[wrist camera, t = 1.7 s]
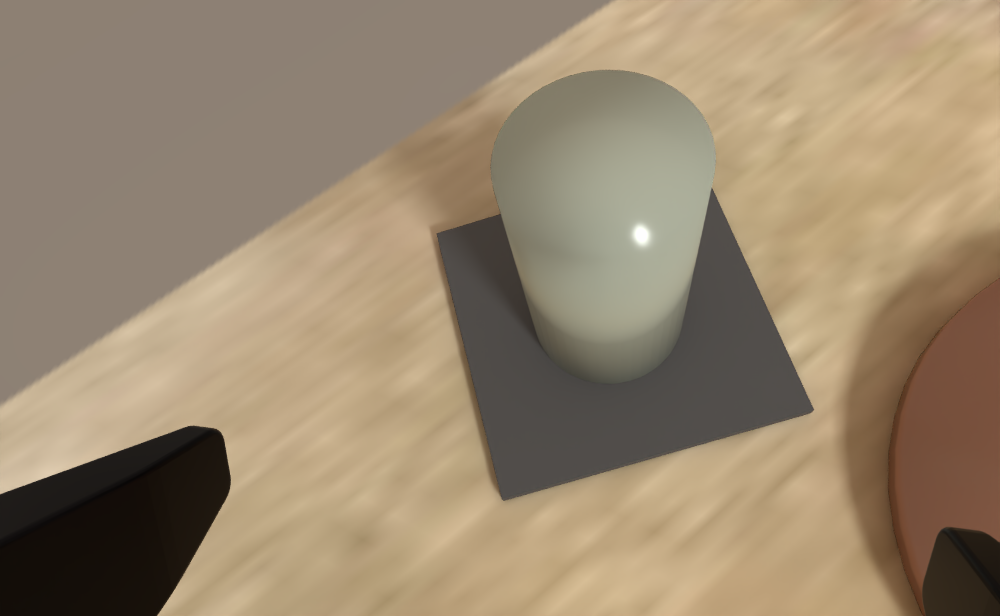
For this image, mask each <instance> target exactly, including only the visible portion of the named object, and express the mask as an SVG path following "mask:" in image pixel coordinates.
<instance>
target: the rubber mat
mask: <svg viewBox="0 0 1000 616" xmlns="http://www.w3.org/2000/svg"><path fill="white" fill-rule="evenodd" d="M437 238H438V242H439V246H440V250H441V254H442V258H443V262H444V266H445V270H446V274H447V278H448V282H449V286H450V290H451V294H452V298H453V302H454V307H455V311H456V315H457V319H458V323H459V327H460V331H461V335H462V339H463V343H464V347H465V351H466V355H467V359H468V363H469V367H470V371H471V376H472V380H473V384H474V388H475V392H476V396H477V400H478V404H479V408H480V412H481V416H482V420H483V424H484V428H485V432H486V436H487V440H488V445H489V449H490V453H491V457H492V461H493V465H494V469H495V473H496V477H497V481H498V485H499V489H500V493H501V497H502V500H503V501H505V500H508V499H512V498H515V497H519V496H522V495H526V494H529V493H533V492H536V491H540V490H543V489H547V488H550V487H554V486H557V485H561V484H564V483H568V482H571V481H575V480H578V479H582V478H585V477H589V476H592V475H596V474H599V473H603V472H606V471H610V470H613V469H617V468H620V467H624V466H627V465H631V464H634V463H638V462H641V461H645V460H648V459H652V458H655V457H659V456H662V455H666V454H669V453H673V452H676V451H680V450H683V449H687V448H690V447H694V446H697V445H701V444H704V443H708V442H711V441H715V440H718V439H722V438H725V437H729V436H732V435H736V434H739V433H743V432H746V431H750V430H753V429H757V428H760V427H764V426H767V425H771V424H774V423H778V422H781V421H785V420H788V419H792V418H795V417H799V416H802V415H806V414H809V413H811V412H812V411H813V410H814V409H813V407H812V405H811V402H810V400H809V398H808V396H807V394H806V392H805V389H804V387H803V385H802V383H801V381H800V378H799V376H798V374H797V372H796V370H795V368H794V365H793V363H792V361H791V359H790V357H789V355H788V352H787V350H786V348H785V346H784V344H783V341H782V339H781V337H780V335H779V333H778V331H777V328H776V326H775V324H774V322H773V320H772V317H771V315H770V313H769V311H768V309H767V307H766V304H765V302H764V300H763V298H762V296H761V294H760V291H759V289H758V287H757V285H756V283H755V280H754V278H753V276H752V274H751V272H750V270H749V267H748V265H747V263H746V261H745V259H744V256H743V254H742V252H741V250H740V248H739V246H738V243H737V241H736V239H735V237H734V235H733V233H732V230H731V228H730V226H729V224H728V222H727V219H726V217H725V215H724V213H723V211H722V209H721V206H720V204H719V202H718V200H717V198H716V195H715V193H714V191H713V189H712V188H711V192H710V197H709V202H708V206H707V211H706V216H705V221H704V225H703V230H702V235H701V239H700V244H699V249H698V254H697V258H696V263H695V268H694V272H693V277H692V282H691V286H690V291H689V296H688V301H687V305H686V310H685V315H684V319H683V324H682V329H681V332H680V336H679V338H678V341H677V343H676V345H675V347H674V348H673V350H672V352H671V353H670V354H669V356H668V357H667V358H666V359H665V360H664V361H663V362H662V363H661V364H660V365H659V366H658V367H657V368H655V369H654V370H652V371H651V372H649V373H648V374H646V375H644V376H642V377H640V378H637V379H634V380H631V381H627V382H623V383H615V384H600V383H593V382H589V381H585V380H582V379H579V378H577V377H574V376H572V375H570V374H569V373H567V372H565V371H564V370H562V369H561V368H560V367H559V366H557V365H556V364H555V363H554V362H553V361H552V360H551V359H550V358H549V357H548V355H547V354H546V352H545V351H544V350H543V348H542V346H541V344H540V342H539V339H538V337H537V334H536V331H535V327H534V324H533V321H532V317H531V314H530V311H529V307H528V304H527V301H526V297H525V294H524V290H523V287H522V284H521V280H520V277H519V274H518V270H517V267H516V263H515V260H514V257H513V253H512V250H511V247H510V243H509V240H508V237H507V233H506V230H505V226H504V223H503V220H502V216H501V214H500V215H496V216H493V217H490V218H486V219H483V220H480V221H476V222H473V223H470V224H466V225H463V226H460V227H457V228H453V229H450V230H447V231H443V232H440V233H437Z"/></svg>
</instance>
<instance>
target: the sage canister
mask: <svg viewBox="0 0 1000 616" xmlns="http://www.w3.org/2000/svg"><path fill="white" fill-rule="evenodd" d="M715 165H716V153H715V145H714V140H713V136H712V133H711V131H710V128H709V126H708V124H707V122H706V120H705V119H704V117H703V115H702V114H701V112H700V111H699V110H698V109H697V107H696V106H695V105H694V104H693V103H692V102H691V101H690V100H689V99H688V98H687V97H686V96H685V95H683V94H682V93H681V92H679V91H678V90H677V89H675V88H674V87H672V86H670V85H668V84H666V83H665V82H663V81H660V80H658V79H655V78H653V77H650V76H647V75H643V74H639V73H635V72H629V71H621V70H596V71H589V72H582V73H578V74H574V75H570V76H567V77H565V78H562V79H559V80H556V81H554V82H552V83H550V84H548V85H546V86H544V87H542V88H541V89H539V90H538V91H536V92H534V93H533V94H532V95H530V96H529V97H528V98H527V99H525V100H524V101H523V102H522V103H521V104H520V105H519V106H518V107H517V108H516V109H515V110H514V111H513V112H512V113H511V115H510V116H509V117H508V118H507V120H506V121H505V123H504V125H503V126H502V128H501V130H500V131H499V134H498V136H497V139H496V141H495V144H494V148H493V152H492V157H491V180H492V184H493V189H494V193H495V196H496V200H497V203H498V206H499V210H500V213H501V216H502V220H503V223H504V226H505V230H506V233H507V237H508V240H509V243H510V247H511V250H512V253H513V257H514V260H515V263H516V267H517V270H518V274H519V277H520V280H521V284H522V287H523V290H524V294H525V297H526V301H527V304H528V307H529V311H530V314H531V317H532V321H533V324H534V327H535V331H536V334H537V337H538V339H539V342H540V344H541V346H542V348H543V350H544V351H545V352H546V354H547V355H548V357H549V358H550V359H551V360H552V361H553V362H554V363H555V364H556V365H557V366H559V367H560V368H561V369H562V370H564V371H565V372H567V373H569V374H570V375H572V376H574V377H577V378H579V379H582V380H585V381H589V382H593V383H600V384H615V383H623V382H627V381H631V380H634V379H637V378H640V377H642V376H644V375H646V374H648V373H649V372H651V371H652V370H654V369H655V368H657V367H658V366H659V365H660V364H661V363H662V362H663V361H664V360H665V359H666V358H667V357H668V356H669V354H670V353H671V352H672V350H673V348H674V347H675V345H676V343H677V341H678V338H679V336H680V332H681V329H682V324H683V319H684V315H685V310H686V305H687V301H688V296H689V291H690V286H691V282H692V277H693V272H694V268H695V263H696V258H697V254H698V249H699V244H700V239H701V235H702V230H703V225H704V221H705V216H706V211H707V206H708V202H709V197H710V192H711V188H712V183H713V178H714V173H715Z"/></svg>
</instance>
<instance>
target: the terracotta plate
mask: <svg viewBox="0 0 1000 616" xmlns="http://www.w3.org/2000/svg"><path fill="white" fill-rule="evenodd" d="M888 491H889V498H890V506H891V514H892V521H893V529H894V533H895V536H896V540H897V544H898V548H899V551H900V555H901V559H902V563H903V566H904V570H905V572H906V575H907V577H908V580H909V582H910V585H911V587H912V590H913V592H914V595H915V597H916V600H917V602H918V605H919V607H920V610H921V612H922V614H923V616H925V612H924V607H923V602H922V585H923V580H924V577H925V574H926V570H927V567H928V563H929V560H930V557H931V553H932V550H933V547H934V543H935V540H936V537H937V535H938V533H939V532H940V530H941V529H943V528H945V527H956V528H963V529H971V530H979V531H983V532H985V533H987V534H989V535H990V536H992V537H993V538H994V539H996V540H997V541H999V542H1000V278H999V279H998V280H996V281H995V282H993V283H992V284H991V285H989V286H988V287H986V288H985V289H984V290H982V291H981V292H980V293H978V294H977V295H976V296H975V297H974V298H973V299H971V300H970V301H969V302H968V303H967V304H966V305H965V306H964V307H963V308H962V309H960V310H959V311H958V312H957V313H956V314H955V315H954V316H953V317H952V318H951V319H950V320H949V321H948V322H947V323H946V324H945V325H944V326H943V327H942V328H941V329H940V330H939V331H938V332H937V334H936V335H935V336H934V338H933V339H932V340H931V342H930V343H929V345H928V346H927V347H926V349H925V350H924V351H923V353H922V354H921V355H920V357H919V358H918V360H917V362H916V364H915V366H914V368H913V370H912V372H911V374H910V376H909V378H908V380H907V382H906V384H905V386H904V389H903V392H902V395H901V398H900V401H899V404H898V407H897V410H896V414H895V417H894V422H893V428H892V434H891V441H890V447H889V468H888Z"/></svg>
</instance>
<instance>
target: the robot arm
mask: <svg viewBox="0 0 1000 616" xmlns="http://www.w3.org/2000/svg"><path fill="white" fill-rule="evenodd" d="M230 485H231V476H230V471H229V465H228V459H227V453H226V448H225V442H224V438H223V435H222V434H221V432H220V431H219V430H217V429H215V428H207V427H200V426H188V427H185V428H182V429H179V430H176V431H174V432H171V433H168V434H165V435H163V436H160V437H157V438H154V439H152V440H149V441H146V442H143V443H141V444H138V445H135V446H132V447H130V448H127V449H124V450H121V451H118V452H116V453H113V454H110V455H107V456H105V457H102V458H99V459H96V460H94V461H91V462H88V463H85V464H83V465H80V466H77V467H74V468H72V469H69V470H66V471H63V472H60V473H58V474H55V475H52V476H49V477H47V478H44V479H41V480H38V481H36V482H33V483H30V484H27V485H25V486H22V487H19V488H16V489H14V490H11V491H8V492H5V493H3V494H0V616H157V615H158V614H159V612H160V611H161V609H162V608H163V606H164V605H165V603H166V602H167V600H168V599H169V597H170V596H171V594H172V593H173V591H174V590H175V588H176V586H177V585H178V583H179V581H180V580H181V578H182V576H183V575H184V573H185V571H186V569H187V567H188V566H189V564H190V562H191V560H192V559H193V557H194V555H195V553H196V552H197V550H198V548H199V546H200V544H201V543H202V541H203V539H204V537H205V536H206V534H207V532H208V530H209V528H210V527H211V525H212V523H213V521H214V520H215V518H216V516H217V514H218V512H219V511H220V509H221V507H222V505H223V504H224V502H225V500H226V498H227V496H228V493H229V490H230ZM922 602H923V607H924V612H925V616H1000V542H999V541H997V540H996V539H994V538H993V537H992V536H990V535H989V534H987V533H985V532H983V531H979V530H971V529H963V528H956V527H945V528H943V529H941V530H940V532H939V533H938V535H937V537H936V540H935V543H934V547H933V550H932V553H931V557H930V560H929V563H928V567H927V570H926V574H925V577H924V580H923V585H922Z"/></svg>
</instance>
